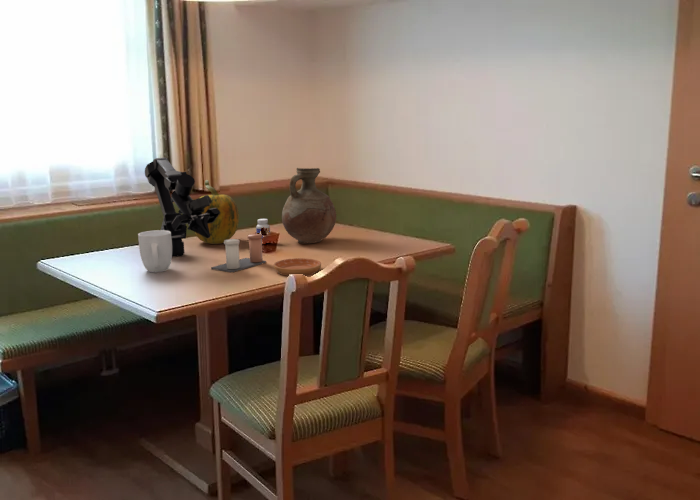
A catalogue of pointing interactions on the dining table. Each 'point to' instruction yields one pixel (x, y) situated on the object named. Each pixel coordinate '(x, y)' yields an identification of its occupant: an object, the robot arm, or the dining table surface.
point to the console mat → (243, 265)
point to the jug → (308, 209)
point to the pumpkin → (221, 217)
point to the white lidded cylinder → (232, 253)
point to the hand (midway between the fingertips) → (209, 237)
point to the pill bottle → (262, 225)
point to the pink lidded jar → (255, 247)
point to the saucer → (297, 266)
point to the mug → (155, 249)
